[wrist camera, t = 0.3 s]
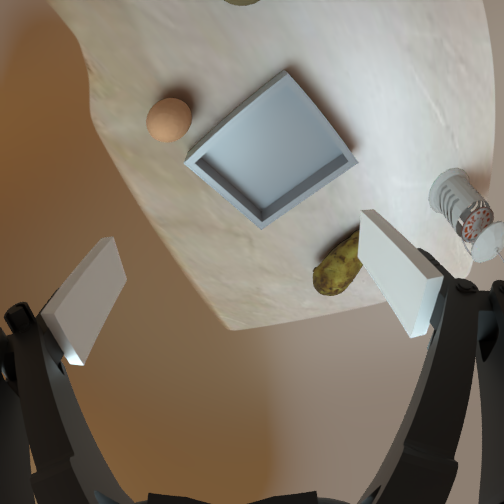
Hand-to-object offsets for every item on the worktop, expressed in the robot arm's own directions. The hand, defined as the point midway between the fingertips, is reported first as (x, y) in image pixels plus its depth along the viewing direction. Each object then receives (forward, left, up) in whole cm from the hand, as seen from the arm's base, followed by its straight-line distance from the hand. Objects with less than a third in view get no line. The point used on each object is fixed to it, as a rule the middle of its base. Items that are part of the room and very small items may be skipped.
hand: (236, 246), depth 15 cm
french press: (-20, +34, -26) cm, 47 cm away
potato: (+3, +30, -26) cm, 40 cm away
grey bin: (+1, +7, -26) cm, 27 cm away
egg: (+6, -6, -26) cm, 28 cm away
